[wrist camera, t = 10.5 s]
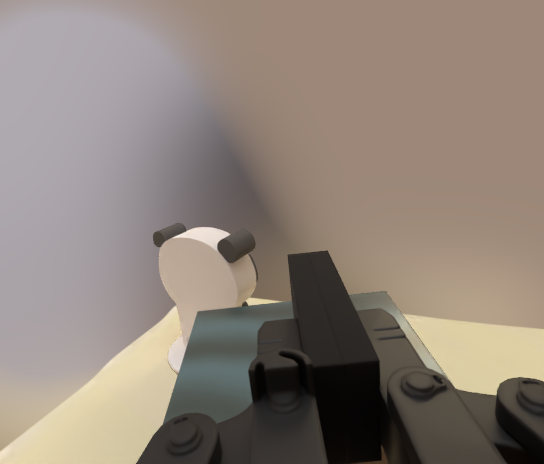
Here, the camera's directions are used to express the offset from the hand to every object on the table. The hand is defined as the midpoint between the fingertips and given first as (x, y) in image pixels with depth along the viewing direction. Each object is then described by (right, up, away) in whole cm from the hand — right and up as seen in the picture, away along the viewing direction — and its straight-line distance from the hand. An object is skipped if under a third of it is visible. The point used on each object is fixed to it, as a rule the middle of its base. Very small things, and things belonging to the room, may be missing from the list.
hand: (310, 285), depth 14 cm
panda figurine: (-8, -12, +31) cm, 35 cm away
